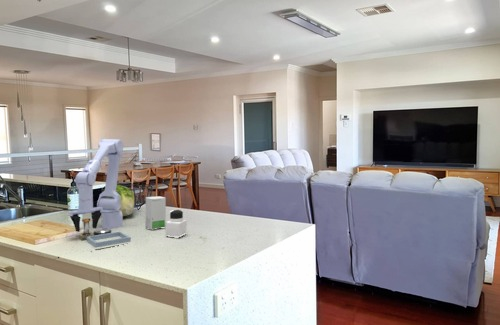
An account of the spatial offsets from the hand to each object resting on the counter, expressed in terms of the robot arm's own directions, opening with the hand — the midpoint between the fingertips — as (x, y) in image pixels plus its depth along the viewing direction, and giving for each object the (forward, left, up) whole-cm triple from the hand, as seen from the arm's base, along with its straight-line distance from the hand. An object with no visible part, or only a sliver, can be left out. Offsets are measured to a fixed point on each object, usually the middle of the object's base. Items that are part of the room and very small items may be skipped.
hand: (86, 229), depth 170 cm
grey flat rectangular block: (-4, 0, -4) cm, 6 cm away
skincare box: (-34, -1, -5) cm, 34 cm away
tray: (-6, +12, -4) cm, 14 cm away
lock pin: (0, 0, -3) cm, 3 cm away
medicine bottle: (-35, +18, -5) cm, 39 cm away
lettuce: (-30, -38, -5) cm, 48 cm away
